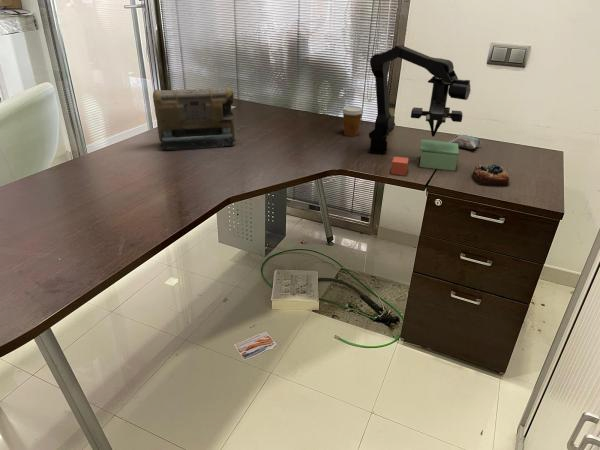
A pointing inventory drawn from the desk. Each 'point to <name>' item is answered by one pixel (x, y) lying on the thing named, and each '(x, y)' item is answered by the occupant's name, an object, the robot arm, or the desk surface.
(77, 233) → the desk surface
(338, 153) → the desk surface
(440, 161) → the lunchbox
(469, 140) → the packaged food
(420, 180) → the desk surface
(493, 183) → the pastry
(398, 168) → the red cube
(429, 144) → the lunchbox lid
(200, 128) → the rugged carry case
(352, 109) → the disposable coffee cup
